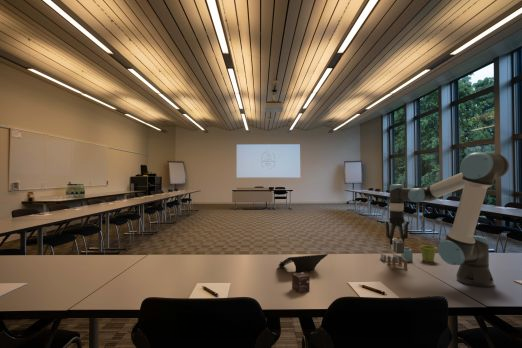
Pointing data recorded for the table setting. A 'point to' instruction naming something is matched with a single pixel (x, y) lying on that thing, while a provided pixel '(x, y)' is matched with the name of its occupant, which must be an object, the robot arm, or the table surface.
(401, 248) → the cable bar
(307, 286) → the box
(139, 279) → the table surface
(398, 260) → the end holder
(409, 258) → the connector
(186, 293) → the table surface
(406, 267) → the clip
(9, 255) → the table surface
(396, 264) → the clip
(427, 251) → the plant pot
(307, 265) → the portable electronic device stand
